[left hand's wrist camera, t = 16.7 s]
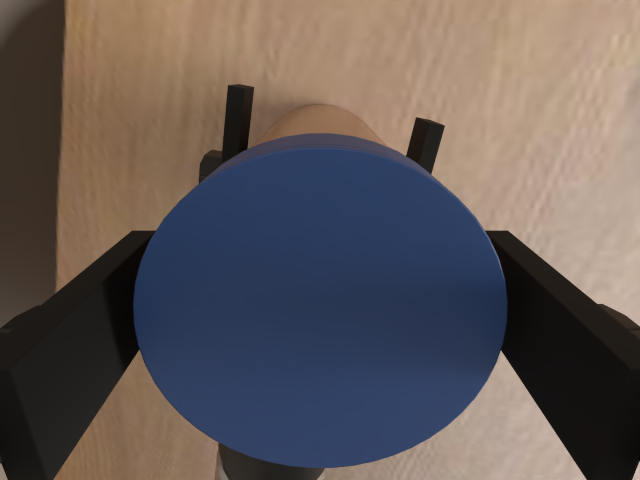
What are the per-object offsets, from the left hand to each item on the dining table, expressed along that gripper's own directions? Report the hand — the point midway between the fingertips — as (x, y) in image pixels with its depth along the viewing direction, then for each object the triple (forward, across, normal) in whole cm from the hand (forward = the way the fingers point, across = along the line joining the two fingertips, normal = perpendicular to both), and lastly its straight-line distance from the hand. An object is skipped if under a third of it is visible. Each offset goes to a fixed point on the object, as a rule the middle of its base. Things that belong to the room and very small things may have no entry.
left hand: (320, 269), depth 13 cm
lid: (-3, 0, 0) cm, 3 cm away
